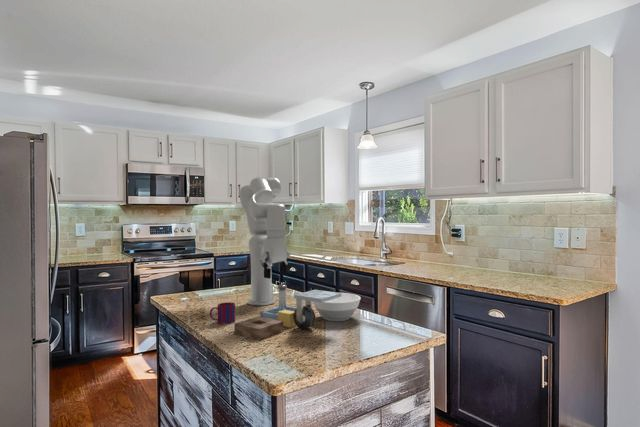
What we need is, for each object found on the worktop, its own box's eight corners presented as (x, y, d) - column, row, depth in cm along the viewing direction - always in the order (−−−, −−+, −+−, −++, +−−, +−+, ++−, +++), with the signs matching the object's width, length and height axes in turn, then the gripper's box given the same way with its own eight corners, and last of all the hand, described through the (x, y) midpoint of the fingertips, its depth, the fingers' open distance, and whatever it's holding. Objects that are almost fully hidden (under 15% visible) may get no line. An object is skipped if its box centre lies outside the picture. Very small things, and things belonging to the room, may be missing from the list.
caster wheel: (307, 322, 156) (307, 288, 156) (341, 329, 146) (341, 293, 146) (287, 329, 146) (286, 293, 146) (321, 337, 137) (321, 299, 137)
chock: (284, 322, 156) (284, 309, 156) (296, 325, 153) (296, 311, 153) (277, 325, 153) (277, 311, 153) (289, 327, 149) (289, 314, 149)
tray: (283, 311, 174) (283, 305, 174) (303, 314, 167) (303, 308, 167) (260, 318, 163) (260, 311, 163) (280, 322, 156) (280, 315, 156)
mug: (237, 322, 157) (237, 304, 157) (212, 326, 151) (212, 308, 151) (232, 318, 162) (231, 301, 162) (206, 322, 157) (206, 304, 157)
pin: (282, 313, 167) (282, 284, 167) (288, 314, 165) (288, 285, 165) (276, 315, 165) (276, 285, 165) (282, 316, 162) (282, 286, 162)
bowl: (370, 317, 163) (370, 296, 163) (339, 327, 149) (339, 305, 149) (334, 309, 176) (333, 290, 176) (301, 318, 162) (301, 297, 162)
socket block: (259, 325, 152) (259, 316, 152) (283, 331, 145) (283, 321, 145) (234, 333, 142) (234, 323, 142) (258, 339, 135) (258, 329, 135)
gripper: (283, 232, 175) (282, 271, 176) (254, 235, 161) (253, 278, 162) (296, 233, 170) (296, 274, 171) (267, 237, 157) (267, 281, 157)
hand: (275, 276), depth 167 cm, fingers open, 9 cm apart
